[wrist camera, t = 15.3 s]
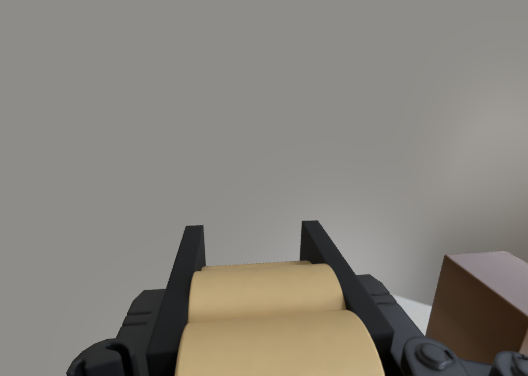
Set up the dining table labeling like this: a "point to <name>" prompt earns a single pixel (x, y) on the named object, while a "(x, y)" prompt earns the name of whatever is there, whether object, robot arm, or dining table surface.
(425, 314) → the dining table surface
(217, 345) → the yellow scalloped ring
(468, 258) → the hook stand
